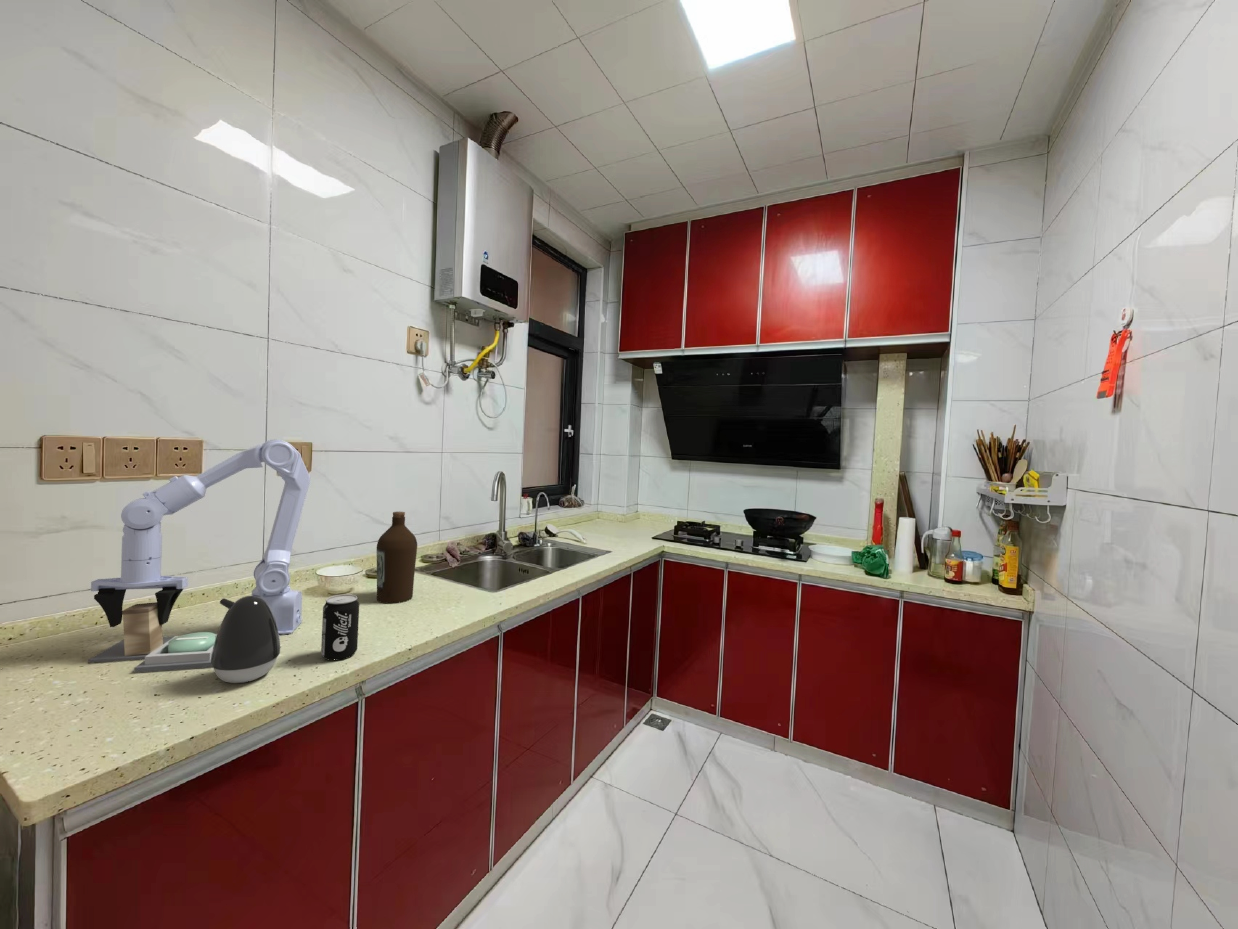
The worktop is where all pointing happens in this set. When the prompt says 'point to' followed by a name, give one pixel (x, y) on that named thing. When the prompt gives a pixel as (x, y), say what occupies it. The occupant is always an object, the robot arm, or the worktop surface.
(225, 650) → the pump dispenser
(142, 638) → the wooden rectangular block
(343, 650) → the beverage can
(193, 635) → the button
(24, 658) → the worktop surface
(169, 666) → the switch panel
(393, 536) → the olive oil
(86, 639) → the worktop surface
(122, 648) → the mat
